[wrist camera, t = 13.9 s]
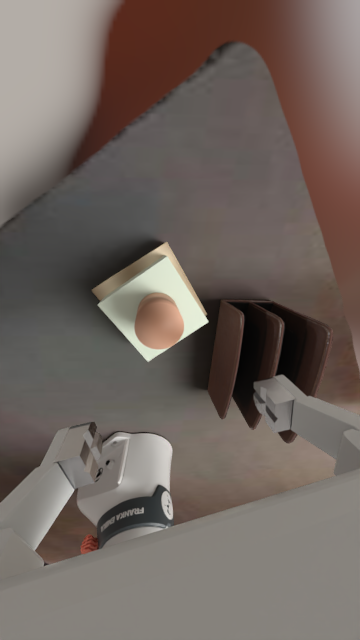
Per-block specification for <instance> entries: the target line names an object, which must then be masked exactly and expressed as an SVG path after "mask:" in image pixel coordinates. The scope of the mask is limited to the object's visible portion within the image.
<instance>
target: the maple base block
mask: <svg viewBox="0 0 360 640" xmlns="http://www.w3.org/2000/svg"><path fill="white" fill-rule="evenodd" d="M164 255H166V256H168V258H169V259H170V261H171V263H172V264H173V266H174V267H175V269H176V271H177V272H178V274H179V275H180V277H181V279H182V280H183V282H184V283H185V285H186V286H187V288H188V290H189V291H190V293H191V294H192V296H193V298H194V299H195V301H196V302H197V304H198V306H199V307H200V309H201V310H202V312H203V313H204V315H207V313H206V311H205V309H204V308H203V306H202V304H201V302H200V300H199V299H198V297H197V295H196V293H195V291H194V290H193V288H192V286H191V284H190V282H189V281H188V279H187V277H186V275H185V274H184V272H183V270H182V268H181V266H180V265H179V263H178V261H177V259H176V257H175V256H174V254H173V252H172V250H171V248H170V247H169V245H168V243H167V242H166V243H164V244H162V245H161V246H159V247H157V248H156V249H154V250H153V251H151V252H150V253H148V254H146V255H145V256H143V257H142V258H140V259H139V260H137V261H135V262H134V263H132V264H131V265H129V266H128V267H126V268H124V269H123V270H121V271H120V272H118V273H117V274H115V275H113V276H112V277H110V278H109V279H107V280H106V281H104V282H102V283H101V284H99V285H98V286H96V287H95V288H94V289H92V292H93V293H94V294H95V295H96V297H97V298H98V299H99V300H100V301H101V300H102V299H103V298H104V297H105V296H106V295H108V294H109V293H111V292H112V291H114V290H115V289H117V288H118V287H119V286H121V285H122V284H124V283H125V282H127V281H128V280H129V279H131V278H132V277H134V276H135V275H137V274H138V273H139V272H141V271H142V270H144V269H145V268H147V267H148V266H150V265H151V264H152V263H154V262H155V261H157V260H158V259H160V258H161V257H162V256H164Z"/></svg>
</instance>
